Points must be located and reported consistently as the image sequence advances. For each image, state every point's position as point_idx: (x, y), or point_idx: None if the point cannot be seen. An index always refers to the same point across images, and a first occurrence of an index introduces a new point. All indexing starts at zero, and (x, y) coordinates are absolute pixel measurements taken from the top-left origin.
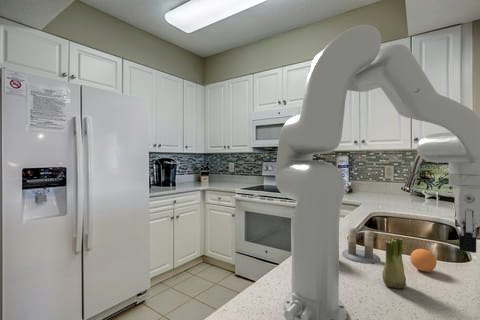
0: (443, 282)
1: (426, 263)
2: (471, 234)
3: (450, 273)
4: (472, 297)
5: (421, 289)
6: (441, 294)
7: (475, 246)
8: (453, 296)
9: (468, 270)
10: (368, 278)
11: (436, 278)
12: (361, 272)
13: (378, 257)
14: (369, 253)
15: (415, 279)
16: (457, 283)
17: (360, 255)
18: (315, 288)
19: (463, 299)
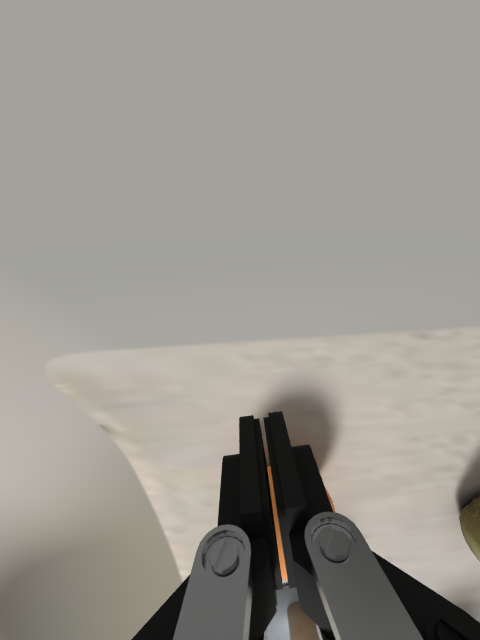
0: (343, 416)
1: (331, 503)
2: (408, 583)
3: (232, 411)
4: (411, 338)
5: (455, 454)
6: (454, 408)
7: (287, 441)
8: (445, 381)
9: (141, 368)
10: (476, 566)
11: (323, 437)
12: (443, 589)
13: (276, 592)
14: (317, 632)
15: (384, 479)
16: (317, 384)
17: None
18: None
19: (448, 357)
